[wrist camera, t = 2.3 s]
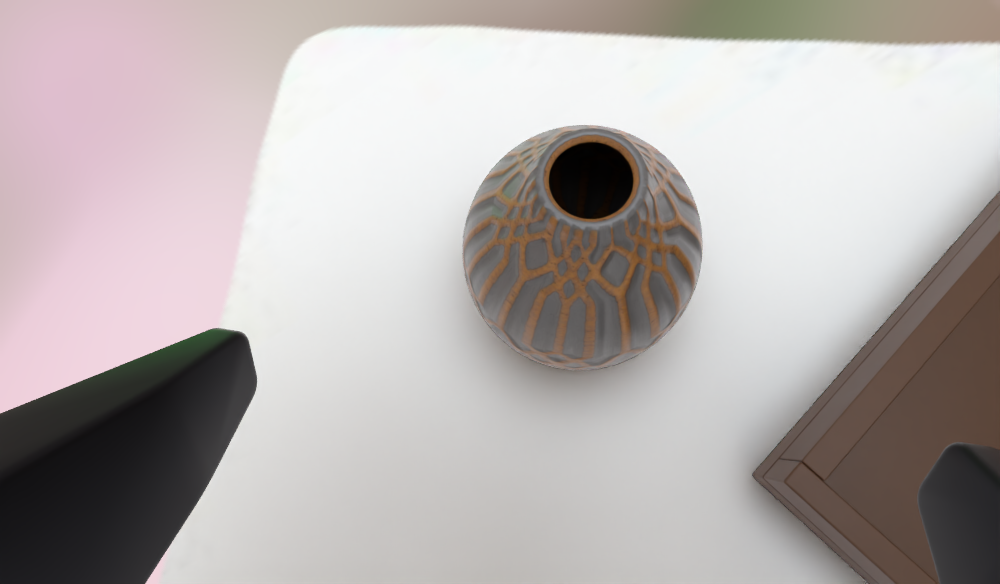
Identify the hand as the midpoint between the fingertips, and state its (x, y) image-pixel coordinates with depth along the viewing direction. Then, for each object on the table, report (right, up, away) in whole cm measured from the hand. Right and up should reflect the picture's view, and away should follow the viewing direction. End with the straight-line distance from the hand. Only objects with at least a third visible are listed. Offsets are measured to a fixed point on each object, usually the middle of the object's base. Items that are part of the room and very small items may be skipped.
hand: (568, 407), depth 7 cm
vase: (+2, +2, +13) cm, 13 cm away
